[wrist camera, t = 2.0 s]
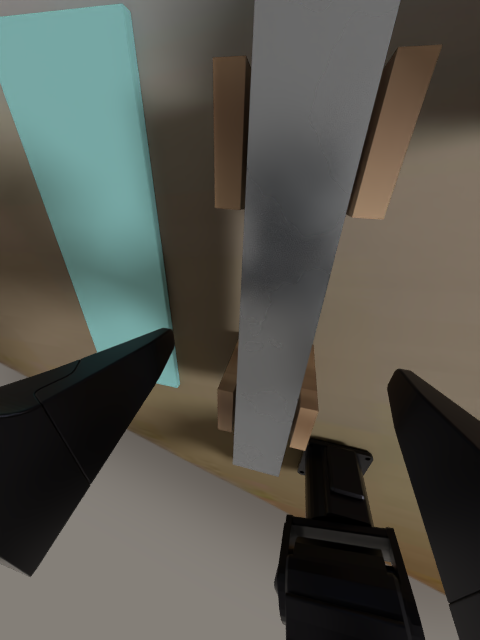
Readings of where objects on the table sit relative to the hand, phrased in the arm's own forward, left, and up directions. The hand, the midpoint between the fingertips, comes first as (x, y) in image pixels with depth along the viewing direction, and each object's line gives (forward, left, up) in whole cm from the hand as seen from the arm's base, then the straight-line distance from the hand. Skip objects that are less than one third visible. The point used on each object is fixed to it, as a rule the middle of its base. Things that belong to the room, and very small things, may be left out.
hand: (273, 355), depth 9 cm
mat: (0, +14, -8) cm, 16 cm away
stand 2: (+7, 0, -8) cm, 11 cm away
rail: (0, 0, -3) cm, 3 cm away
